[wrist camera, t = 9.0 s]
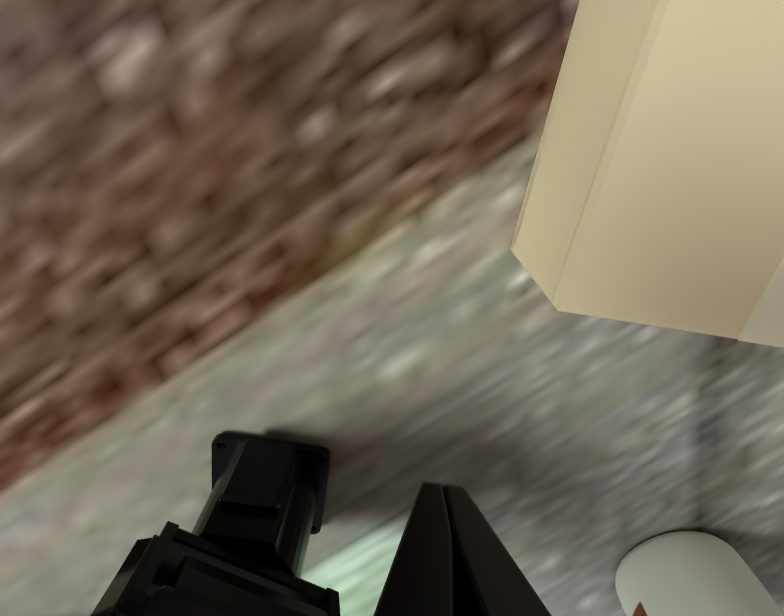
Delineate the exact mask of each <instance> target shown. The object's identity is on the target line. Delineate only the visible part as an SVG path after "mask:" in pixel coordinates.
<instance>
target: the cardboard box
mask: <svg viewBox="0 0 784 616" xmlns="http://www.w3.org/2000/svg"><path fill="white" fill-rule="evenodd" d="M657 3H658V0H580V2H579V5H578V9H577V12H576V16H575V19H574V23H573V26H572V30H571V34H570V37H569V41H568V44H567V48H566V51H565V55H564V58H563V62H562V66H561V69H560V73H559V76H558V80H557V83H556V87H555V90H554V94H553V98H552V101H551V105H550V108H549V112H548V115H547V119H546V122H545V126H544V130H543V133H542V137H541V140H540V144H539V147H538V151H537V154H536V158H535V162H534V165H533V169H532V172H531V176H530V179H529V183H528V186H527V190H526V194H525V197H524V201H523V204H522V208H521V211H520V215H519V218H518V222H517V226H516V229H515V233H514V236H513V240H512V243H511V247H510V250H511V251H512V252H513V254H514V255H515V256H516V257H517V259H518V260H519V261H520V263H521V264H522V265H523V266H524V268H525V269H526V270H527V272H528V273H529V274H530V275H531V277H532V278H533V279H534V281H535V282H536V283H537V284H538V286H539V287H540V288H541V290H542V291H543V292H544V293H545V295H546V296H547V297H548V299H549V300H550V301H551V302H552V300H553V298H554V295H555V292H556V289H557V286H558V283H559V281H560V278H561V275H562V272H563V269H564V266H565V264H566V261H567V258H568V255H569V252H570V249H571V247H572V244H573V241H574V238H575V235H576V232H577V230H578V227H579V224H580V221H581V218H582V215H583V213H584V210H585V207H586V204H587V201H588V198H589V196H590V193H591V190H592V187H593V184H594V181H595V179H596V176H597V173H598V170H599V167H600V164H601V162H602V159H603V156H604V153H605V150H606V147H607V145H608V142H609V139H610V136H611V133H612V130H613V128H614V125H615V122H616V119H617V116H618V113H619V111H620V108H621V105H622V102H623V99H624V96H625V94H626V91H627V88H628V85H629V82H630V79H631V77H632V74H633V71H634V68H635V65H636V62H637V60H638V57H639V54H640V51H641V48H642V45H643V43H644V40H645V37H646V34H647V31H648V28H649V26H650V23H651V20H652V17H653V14H654V11H655V9H656V6H657Z"/></svg>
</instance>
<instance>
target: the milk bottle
mask: <svg viewBox="0 0 784 616" xmlns="http://www.w3.org/2000/svg"><path fill="white" fill-rule="evenodd" d="M615 587H616V592H617V594H618V597H619V599H620V602H621V604H622V607H623V609H624V611H625V613H626V616H784V613H783V611H782V610H781V609H780V607H779V606H778V605H777V603H776V602H775V601H774V599H773V598H772V597H771V596H770V594H769V593H768V592H767V590H766V589H765V588H764V586H763V585H762V584H761V582H760V581H759V580H758V578H757V577H756V576H755V575H754V573H753V572H752V571H751V569H750V568H749V567H748V565H747V564H746V563H745V562H744V560H743V559H742V558H741V557H740V555H739V554H738V553H737V552H736V550H735V549H734V548H733V547H731V546H730V545H729V544H727V543H726V542H724V541H723V540H721V539H719V538H717V537H716V536H714V535H710V534H707V533H704V532H696V531H678V532H672V533H666V534H663V535H659V536H656V537H654V538H651V539H649V540H646V541H644V542H643V543H641V544H639V545H638V546H636V547H635V548H633V549H632V550H631V551H630V552H628V553H627V554H626V556H625V557H624V558H623V559H622V560H621V562H620V564H619V566H618V567H617V571H616V574H615Z"/></svg>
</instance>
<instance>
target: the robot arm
mask: <svg viewBox="0 0 784 616" xmlns="http://www.w3.org/2000/svg"><path fill="white" fill-rule="evenodd" d="M220 442H223V443H224V444H221V443H220ZM319 456H324V457H323V458H321V457H319ZM330 458H331V452H330V451H329V450H328V449H327V448H324V447H318V446H311V445H303V444H296V443H289V442H281V441H274V440H267V439H260V438H252V437H245V436H238V435H230V434H218V435H216V436H215V438H214V440H213V442H212V492H211V494H210V496H209V498H208V500H207V502H206V504H205V506H204V508H203V510H202V512H201V514H200V516H199V518H198V520H197V522H196V525H195V527H194V529H193V531H192V533H190V532H187V531H185V530H183V529H180V528H178V527H179V525H177V524H174V523H172V522H169V521H168V522H167V523H166V525H165V527H164V528H163V530H162V532H161V533H160V535H159V536H157V535H154V536H153V538H147V539H141V540H137V542H136V543H135V545H134V547H133V548H132V550H131V552H130V553H129V555H128V556H127V558H126V560H125V561H124V563H123V565H122V566H121V568H120V570H119V571H118V573H117V575H116V576H115V578H114V579H113V581H112V583H111V584H110V586H109V587H108V589H107V590H106V592H105V594H104V595H103V597H102V598H101V600H100V602H99V603H98V605H97V606H96V608H95V610H94V611H93V613H92V614H91V616H340V605H339V593H338V592H337V591H335V590H333V589H330V588H327V589H324V588H322V587H320V586H317V585H315V584H312V583H310V582H308V581H305V580H303V579H301V575H302V570H303V565H304V560H305V556H306V551H307V546H308V541H309V536H310V534H317V533H318V532H320V529H321V524H322V516H323V509H324V502H325V495H326V487H327V480H328V473H329V465H330ZM312 525H313V526H312ZM374 616H551V614H550V613H549V611H548V610H547V609H546V607H545V606H544V604H543V603H542V601H541V600H540V598H539V597H538V595H537V594H536V592H535V591H534V589H533V588H532V586H531V585H530V584H529V582H528V581H527V579H526V578H525V576H524V575H523V573H522V572H521V570H520V569H519V567H518V566H517V564H516V563H515V562H514V560H513V559H512V557H511V556H510V554H509V553H508V551H507V550H506V548H505V547H504V545H503V544H502V542H501V541H500V539H499V538H498V537H497V535H496V534H495V532H494V531H493V529H492V528H491V526H490V525H489V523H488V522H487V520H486V519H485V517H484V516H483V514H482V513H481V512H480V510H479V509H478V507H477V506H476V504H475V503H474V501H473V500H472V498H471V497H470V495H469V494H468V492H467V491H466V490H465V488H464V487H462V486H460V485H453V484H443V485H442V484H441V483H438V482H431V481H423V482H422V483H421V485H420V488H419V491H418V494H417V496H416V499H415V502H414V505H413V507H412V510H411V513H410V516H409V519H408V521H407V524H406V527H405V530H404V532H403V535H402V538H401V541H400V544H399V546H398V549H397V552H396V555H395V557H394V560H393V563H392V566H391V569H390V571H389V574H388V577H387V580H386V582H385V585H384V588H383V591H382V593H381V596H380V599H379V602H378V605H377V607H376V610H375V613H374Z"/></svg>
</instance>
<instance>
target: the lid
mask: <svg viewBox="0 0 784 616" xmlns="http://www.w3.org/2000/svg"><path fill="white" fill-rule="evenodd" d="M552 304H553V305H554V307H555V308H556V309H557V311H563V312H569V313H575V314H582V315H588V316H594V317H601V318H607V319H614V320H620V321H626V322H633V323H639V324H645V325H652V326H658V327H664V328H671V329H677V330H683V331H690V332H696V333H703V334H709V335H715V336H722V337H728V338H734V339H737V340H739V341H744V342H750V343H757V344H763V345H770V346H776V347H782V348H784V0H658V3H657V6H656V9H655V11H654V14H653V17H652V20H651V23H650V26H649V28H648V31H647V34H646V37H645V40H644V43H643V45H642V48H641V51H640V54H639V57H638V60H637V62H636V65H635V68H634V71H633V74H632V77H631V79H630V82H629V85H628V88H627V91H626V94H625V96H624V99H623V102H622V105H621V108H620V111H619V113H618V116H617V119H616V122H615V125H614V128H613V130H612V133H611V136H610V139H609V142H608V145H607V147H606V150H605V153H604V156H603V159H602V162H601V164H600V167H599V170H598V173H597V176H596V179H595V181H594V184H593V187H592V190H591V193H590V196H589V198H588V201H587V204H586V207H585V210H584V213H583V215H582V218H581V221H580V224H579V227H578V230H577V232H576V235H575V238H574V241H573V244H572V247H571V249H570V252H569V255H568V258H567V261H566V264H565V266H564V269H563V272H562V275H561V278H560V281H559V283H558V286H557V289H556V292H555V295H554V298H553V300H552Z"/></svg>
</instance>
